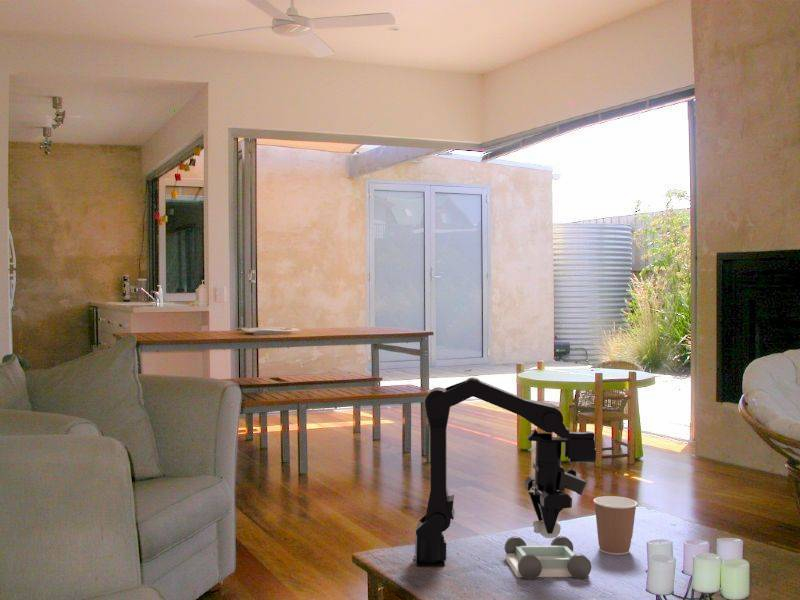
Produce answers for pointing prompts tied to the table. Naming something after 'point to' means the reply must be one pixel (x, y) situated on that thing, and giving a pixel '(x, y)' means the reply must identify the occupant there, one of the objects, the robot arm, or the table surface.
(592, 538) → the table surface
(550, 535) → the white figurine
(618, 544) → the coffee cup
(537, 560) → the toy chassis
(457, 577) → the table surface
